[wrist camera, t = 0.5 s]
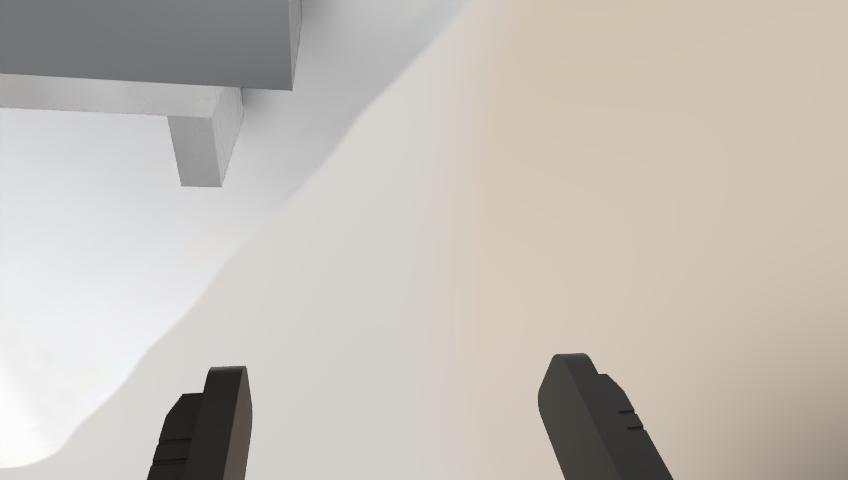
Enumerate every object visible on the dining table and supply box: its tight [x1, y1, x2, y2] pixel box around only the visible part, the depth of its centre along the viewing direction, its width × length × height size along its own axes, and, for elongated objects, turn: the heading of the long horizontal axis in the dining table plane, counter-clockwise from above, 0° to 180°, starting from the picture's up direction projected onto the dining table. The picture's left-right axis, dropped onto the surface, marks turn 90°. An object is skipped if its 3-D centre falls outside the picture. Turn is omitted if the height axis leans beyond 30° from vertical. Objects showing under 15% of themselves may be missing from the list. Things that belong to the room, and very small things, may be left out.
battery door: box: [0, 73, 244, 187], centre depth 20 cm, size 4×10×7 cm, turn 83°
